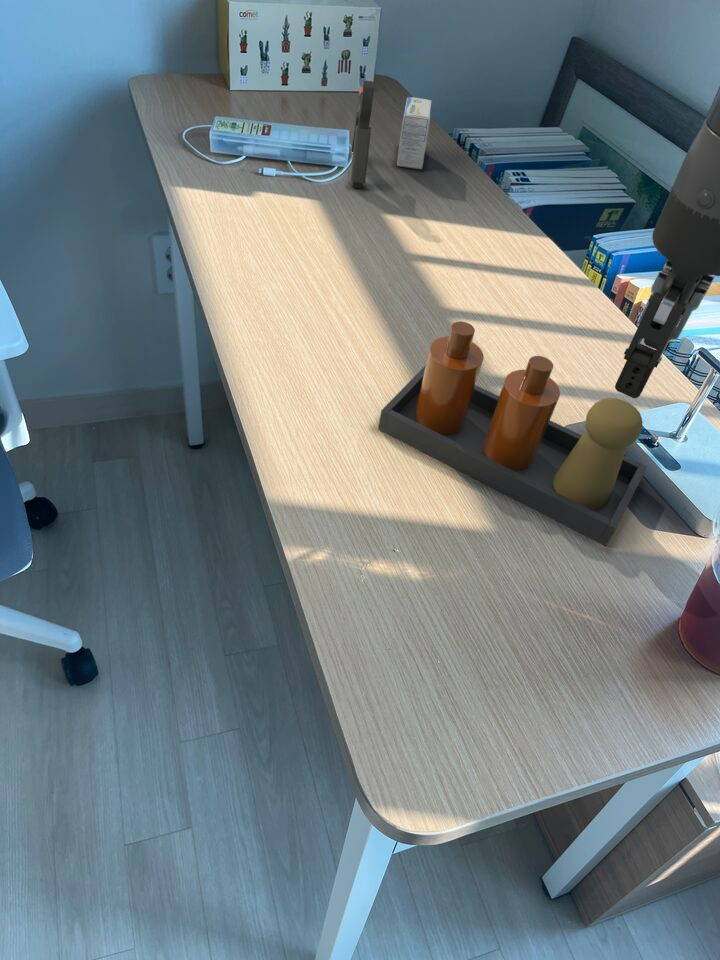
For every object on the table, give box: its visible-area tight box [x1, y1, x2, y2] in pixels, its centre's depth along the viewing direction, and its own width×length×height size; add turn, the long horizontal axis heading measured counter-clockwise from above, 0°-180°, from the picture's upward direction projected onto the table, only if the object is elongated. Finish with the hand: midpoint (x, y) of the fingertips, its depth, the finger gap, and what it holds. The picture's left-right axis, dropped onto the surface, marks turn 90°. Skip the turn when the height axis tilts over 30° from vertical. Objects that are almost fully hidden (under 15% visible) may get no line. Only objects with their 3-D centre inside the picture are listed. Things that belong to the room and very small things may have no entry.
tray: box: [377, 364, 648, 547], centre depth 81 cm, size 27×11×3 cm, turn 58°
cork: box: [553, 397, 644, 510], centre depth 75 cm, size 6×6×11 cm
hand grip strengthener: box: [350, 80, 375, 189], centre depth 119 cm, size 2×12×15 cm, turn 1°
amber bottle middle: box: [483, 355, 561, 470], centre depth 77 cm, size 6×6×12 cm
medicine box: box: [396, 96, 433, 170], centre depth 127 cm, size 8×4×9 cm, turn 174°
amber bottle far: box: [415, 321, 484, 434], centre depth 79 cm, size 6×6×12 cm
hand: (641, 368), depth 67 cm, fingers open, 8 cm apart
